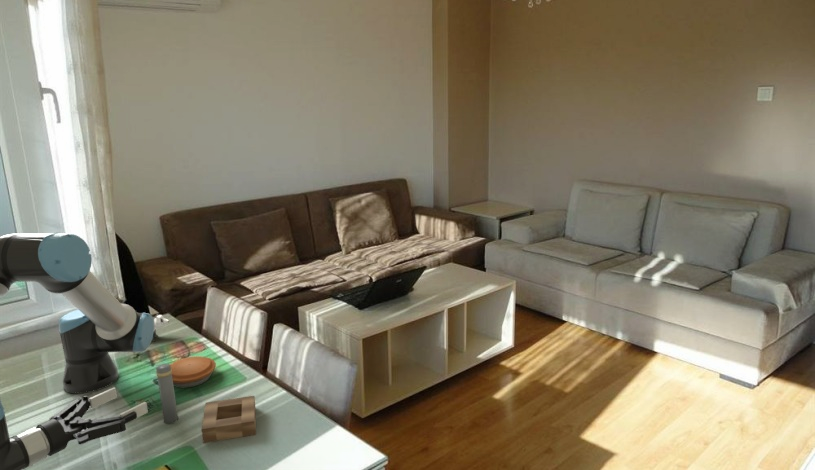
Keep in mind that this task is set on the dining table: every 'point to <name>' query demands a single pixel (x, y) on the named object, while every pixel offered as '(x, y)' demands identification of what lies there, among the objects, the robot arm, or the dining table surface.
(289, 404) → the dining table surface
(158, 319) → the giant panda
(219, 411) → the wooden square frame
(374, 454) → the dining table surface
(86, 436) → the robot arm
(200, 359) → the pie
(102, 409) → the dining table surface
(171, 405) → the gray cylinder
